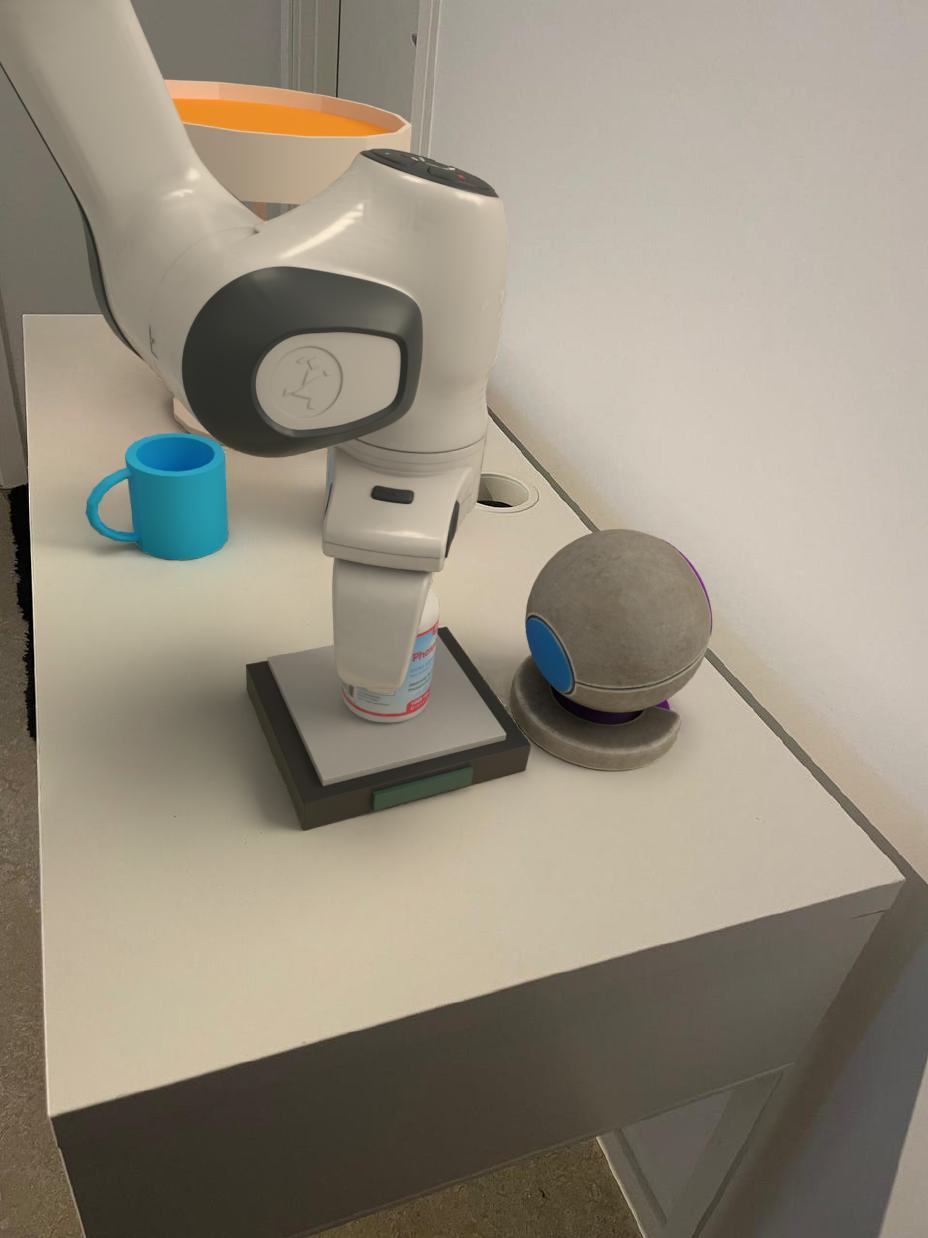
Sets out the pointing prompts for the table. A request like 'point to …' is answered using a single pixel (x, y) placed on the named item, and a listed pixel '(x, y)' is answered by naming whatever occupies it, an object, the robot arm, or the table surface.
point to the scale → (379, 735)
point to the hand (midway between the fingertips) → (389, 651)
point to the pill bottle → (416, 683)
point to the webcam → (610, 649)
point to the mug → (171, 496)
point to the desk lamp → (277, 146)
